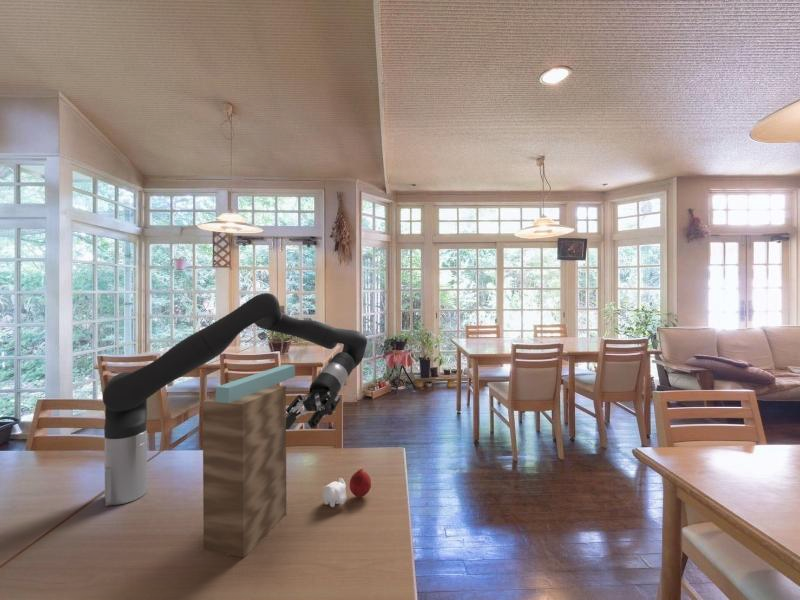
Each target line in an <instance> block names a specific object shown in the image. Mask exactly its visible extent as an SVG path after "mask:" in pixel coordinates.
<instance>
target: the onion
mask: <svg viewBox="0 0 800 600" xmlns="http://www.w3.org/2000/svg"><path fill="white" fill-rule="evenodd" d="M371 488H372V481H371V477H370V475H369V473H368V472H366V471H364V468H363V467H358V469H357V471H355V472H354V473H353V475H352V476H351V478H350V480H349V490H350V492H351V493H352V495H354V496H355V497H357V498H359V499H362V498H363V497H365V496H366V495H367V494H368V493H369V492H370V490H371Z"/></svg>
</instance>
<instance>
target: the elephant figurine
mask: <svg viewBox="0 0 800 600" xmlns="http://www.w3.org/2000/svg"><path fill="white" fill-rule="evenodd" d="M346 489H347V483H346V482H345V480H344V479H343V478H342V477H339V478H338V481H332V482H330V483H328V484H327V485H325V486H324V485H322V490H321V496H322V500H323V502H324V505H325V506H326V505H329V507H331V508H335V506H336V505H338V504H339V505H341V506H342V505H344V504H345V503H346V500H348V498H347V497H348V495H347V492H346Z"/></svg>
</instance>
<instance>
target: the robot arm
mask: <svg viewBox="0 0 800 600" xmlns="http://www.w3.org/2000/svg"><path fill="white" fill-rule="evenodd" d="M253 324H254V325H255V326H256V327H258V328H260V329H263V330H266V331H271V332H276V333H280V334H283V335H288V336H292V337H296V338H298V339H301V340H303V341H308V342H310V343H312V344H315V345H317V346H320V347H321V348H325V349H327V350H334V349H335V348H336V346H337V344H341V345H343V347H342V350H341V352H340V351H339V352H337V353H336V354H335V355H334V356H333V357H332V358H331V359H330V361H329V362H328V363H327V364H326V365H325V366H324V367H323V368H322V370H321V371H320V372H319V373H318V374H317V376H315V379H314V380H313V381H312V382H311V384H310V385H309V392H308V394H307V395H305V396H302V395H301V394H298V395H296V397H295V398H294V399H293V401H292V402H291V403H290V404H289V405H288V406H287V407H286V414H288V415H286V430H290V428H291V427H292V426H293V425H294V423H295V421H296V420H297V419H298V418H299V417H300V416H302V415H303V416H305V415H307V413H310V412H312V411H313V412H314V413H313V414H312V415H311V417H310V418H309V420H308V421H307V424H308V426H309V427H310V428H311V429H315V428H316V427H317V425H319V423H320V422H321V420H322V419H323V418H324V417H326V416H327V415H328V416H331V415H333V414H334V411H335V410H336V407H337V406H338V404H339V403H340V401H341V398H340V396H339V393H340V391H341V390H342V388H343V387H344V385H345V383H346V381H347V379H348V378H349V376H350V375H351V373H352V372H353V370H354V369H355V368H356V367H358V366H359V364H361V362H362V361H363V358H364V357H365V353H366V348H367V344H368V339H367V338H368V337H366V335H365V334H364V333H362V331H361V332H360V331H359V330H356V329H355V330H354V329H345V328H338V327H334V326H331V325H329V324H326V323H323V322H321V321H319V320H318V321H317V320H313V319H311V320H310V319H297V318H294V317H291V316H289V315H287V314H285V313H284V312H282V309H281V306H280V302H279V300H278V298H277V297H276V295H274V294H273V293H268V292H267V293H266V292H265V293H261V294H257V295H256V296H253V297H252V298H250V299H249V300H247V301H246V302H244V303H243V304H241V305H240V306H238V307H237V308H236V309H234V310H233V311H231V312H229V313H228V314H226V315H225V316H223V317H222V318H220V319H217V320H216V321H214V322H213V323H211V324H209V325H207V326H206V327H204V328H202V329H200V330H198V331H196V332H194V333H192V334H191V335H189V336H187V337H185V338H183V340H181V341H179V342H178V343H177V344H175V345H173V346H172V347H171V348H169V349H168V350H167V351H166V352H164V353H163V354H162V355H161V356H159V357H158V358H156V359H155V360H154V361H151V363H149V364H147V365H145V366H142V367H141V368H139V369H137V370H135V371H125V372H121V373H118V374H116V375H115V376H113V377H111V378H110V379H109V381H108V382H107V384H106V386H104V389H103V391H102V402H103V405H104V406H105V419H104V427H103V431H104V433H103V434H104V435H103V436H104V463H103V464H104V469H103V470H104V474H103V475H104V505H105V507H107V506H113V505H114V506H115V505H123V504H127V503H131V502H132V501H136V500H138V499H140V498H142V497H143V496H145V495H146V494H147V492H148V429H147V428H148V427H147V426H148V425H147V423H148V399H149V398H150V397H151V396H153V395H154V394H156V393H157V392H158V391H160V390H161V389H163V388H165V387H166V386H167V385H169V384H171V383H172V382H174V381H176V380H178V379H179V378H182V377H184V376H185V375H187V374H189V373H190V372H193V371H194V370H196V369H198V368H200V367H202V366H203V365H205V364H207V363H209V362H210V361H211V360H213V359H215V358H217V357H218V356H220V355H221V354H222V353H223V352H224V351H225V350H227V349H228V347H229V346H230V345H231V344H232V343H233V341H234V340H236V338H237V337H238V335H240V334H241V333H242V332H243V331H244V330H245V329H246V328H248V327H250V326H252V325H253ZM303 407H304V408H305V409H304V408H303Z"/></svg>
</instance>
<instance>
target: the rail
mask: <svg viewBox="0 0 800 600" xmlns="http://www.w3.org/2000/svg"><path fill="white" fill-rule="evenodd" d="M295 377H296V364H282V365H280V366H277V367H273V368H270V369H267V370H264V371H260V372H258V373H255V374H251V375H249V376H245V377H242V378H239V379H235V380H232V381H230V382H227V383H224V384H221V385H217V386H215V396H216V402H221V403H231V402H233V401H235V400H238V399H240V398H243V397H245V396H248V395H250V394H253V393H255V392H258V391H260V390H263V389H265V388H268V387H270V386H273V385H278V384H280V383H283V382H286V381H287V380H290V379H293V378H295Z"/></svg>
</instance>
